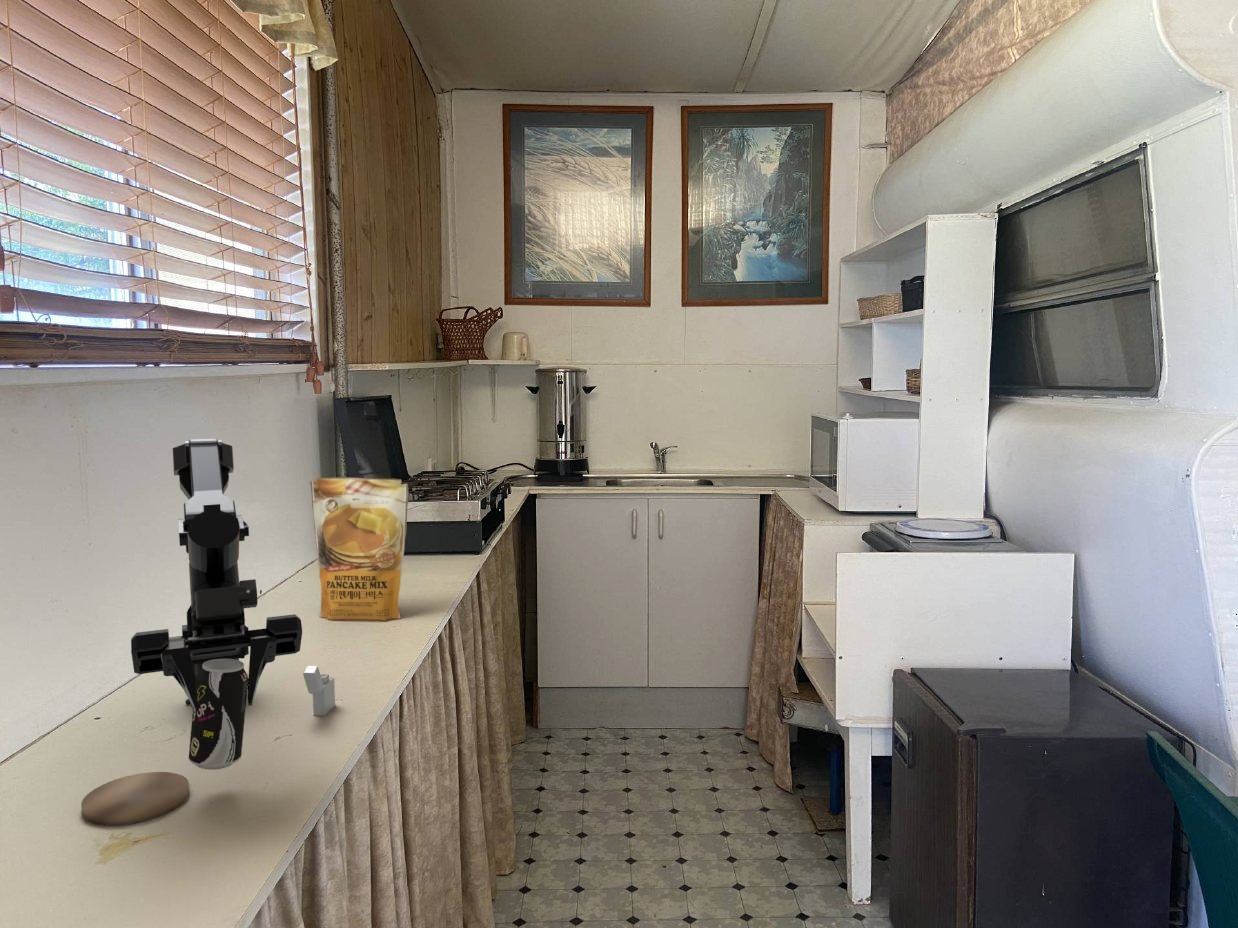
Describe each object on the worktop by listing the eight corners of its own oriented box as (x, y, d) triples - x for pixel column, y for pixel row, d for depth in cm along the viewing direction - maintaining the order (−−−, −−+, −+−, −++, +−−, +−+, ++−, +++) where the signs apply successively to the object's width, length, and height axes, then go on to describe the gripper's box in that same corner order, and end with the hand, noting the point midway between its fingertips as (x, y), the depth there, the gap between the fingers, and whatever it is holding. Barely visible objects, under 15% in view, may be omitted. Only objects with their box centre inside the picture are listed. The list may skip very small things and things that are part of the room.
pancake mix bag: (321, 611, 185) (316, 475, 182) (413, 613, 184) (409, 476, 180) (308, 620, 178) (302, 480, 175) (403, 622, 177) (399, 481, 174)
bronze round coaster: (60, 824, 99) (59, 816, 99) (116, 779, 110) (116, 771, 110) (159, 825, 99) (158, 817, 99) (206, 779, 110) (205, 772, 110)
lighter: (324, 704, 135) (322, 652, 134) (335, 704, 134) (333, 652, 134) (304, 723, 128) (302, 668, 127) (316, 723, 127) (314, 668, 127)
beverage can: (177, 763, 106) (185, 662, 105) (218, 749, 111) (227, 653, 110) (210, 777, 103) (219, 674, 102) (251, 762, 108) (260, 664, 107)
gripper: (126, 565, 104) (128, 690, 95) (297, 551, 112) (313, 664, 104) (133, 614, 112) (135, 733, 103) (292, 597, 120) (306, 706, 112)
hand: (224, 707), depth 105 cm, fingers closed on beverage can, 5 cm apart
